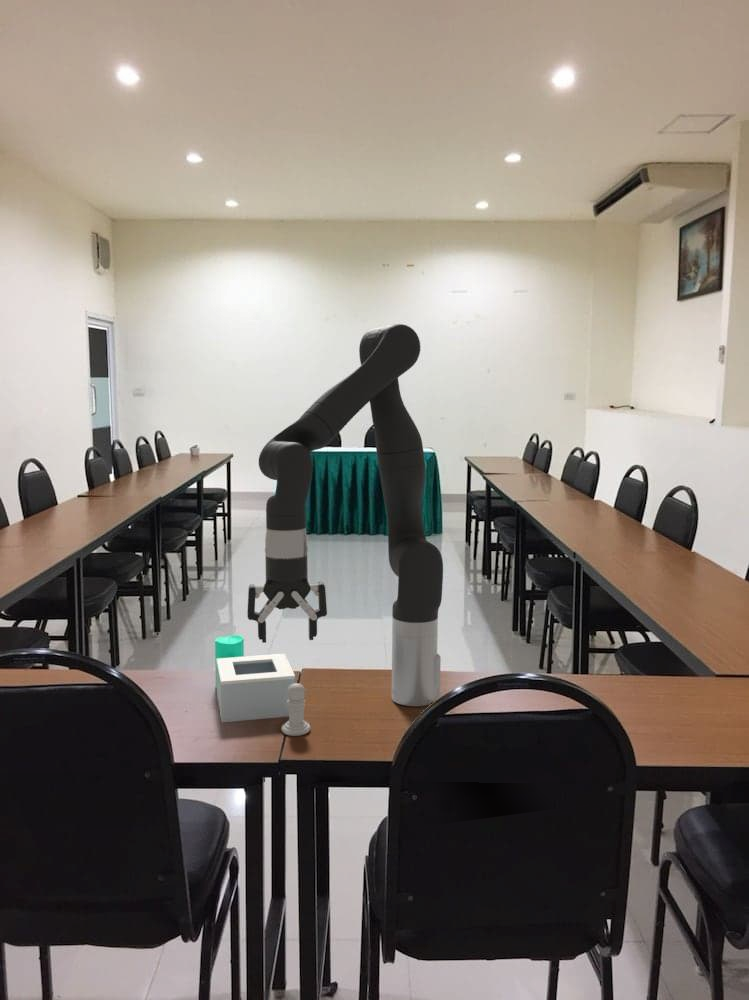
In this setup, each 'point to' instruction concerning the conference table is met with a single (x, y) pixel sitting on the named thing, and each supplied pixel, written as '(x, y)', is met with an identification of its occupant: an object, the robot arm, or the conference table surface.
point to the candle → (228, 648)
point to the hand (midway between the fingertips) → (287, 640)
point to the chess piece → (295, 712)
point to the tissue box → (253, 687)
